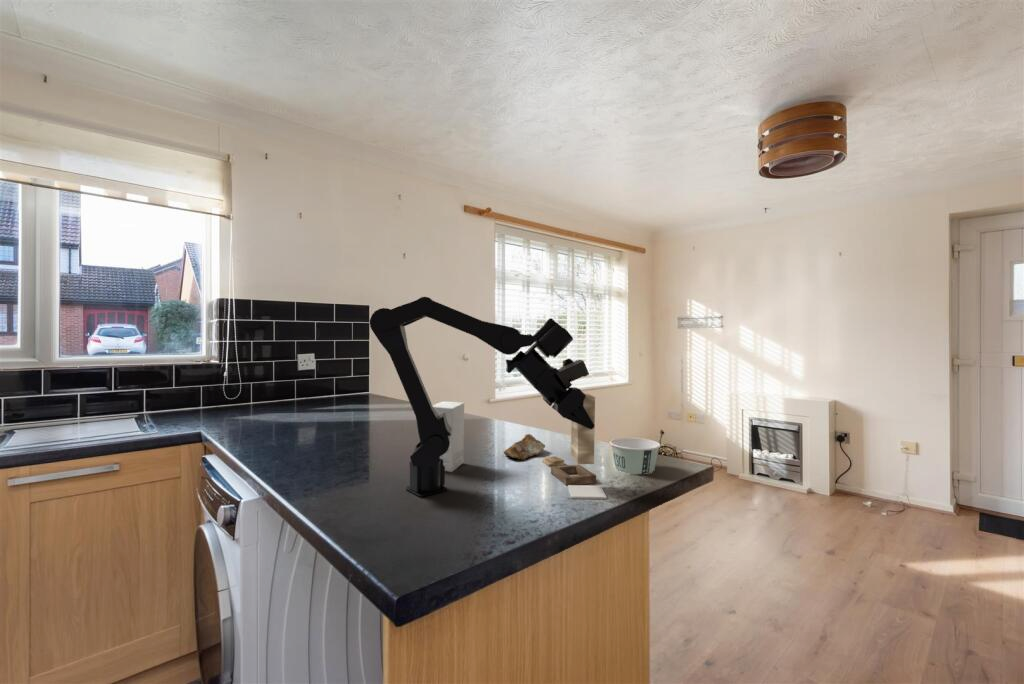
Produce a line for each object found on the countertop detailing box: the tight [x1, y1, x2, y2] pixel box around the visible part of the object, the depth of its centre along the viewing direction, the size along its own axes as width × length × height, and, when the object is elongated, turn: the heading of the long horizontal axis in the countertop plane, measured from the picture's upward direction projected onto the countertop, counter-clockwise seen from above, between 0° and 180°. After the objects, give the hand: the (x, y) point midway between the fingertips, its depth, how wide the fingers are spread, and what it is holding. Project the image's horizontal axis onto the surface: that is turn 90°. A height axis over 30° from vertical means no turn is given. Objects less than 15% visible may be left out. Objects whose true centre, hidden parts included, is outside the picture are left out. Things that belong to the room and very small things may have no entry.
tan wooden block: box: [570, 392, 596, 465], centre depth 100 cm, size 4×6×14 cm, turn 6°
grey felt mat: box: [567, 484, 607, 500], centre depth 97 cm, size 7×7×1 cm
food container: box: [609, 437, 662, 475], centre depth 114 cm, size 12×12×6 cm
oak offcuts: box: [542, 455, 565, 468], centre depth 118 cm, size 4×5×1 cm
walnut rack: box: [550, 464, 597, 486], centre depth 107 cm, size 7×9×2 cm
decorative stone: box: [502, 433, 546, 461], centre depth 127 cm, size 10×4×15 cm
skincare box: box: [432, 401, 465, 473], centre depth 115 cm, size 8×7×16 cm
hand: (589, 424), depth 100 cm, fingers closed on tan wooden block, 6 cm apart
